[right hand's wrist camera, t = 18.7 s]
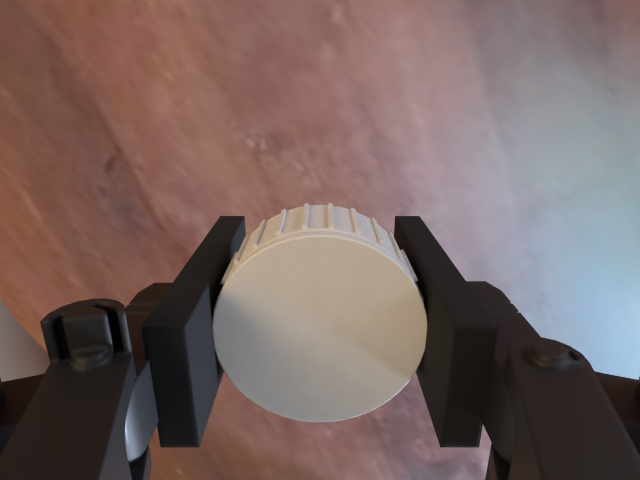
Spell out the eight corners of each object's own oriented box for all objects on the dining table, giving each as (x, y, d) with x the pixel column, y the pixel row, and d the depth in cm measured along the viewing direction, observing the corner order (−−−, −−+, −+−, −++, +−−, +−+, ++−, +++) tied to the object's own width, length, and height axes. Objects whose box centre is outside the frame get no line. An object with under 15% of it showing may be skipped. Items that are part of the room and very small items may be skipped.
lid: (375, 171, 11) (389, 196, 9) (432, 333, 12) (457, 388, 10) (197, 241, 11) (167, 280, 9) (273, 386, 13) (264, 448, 11)
